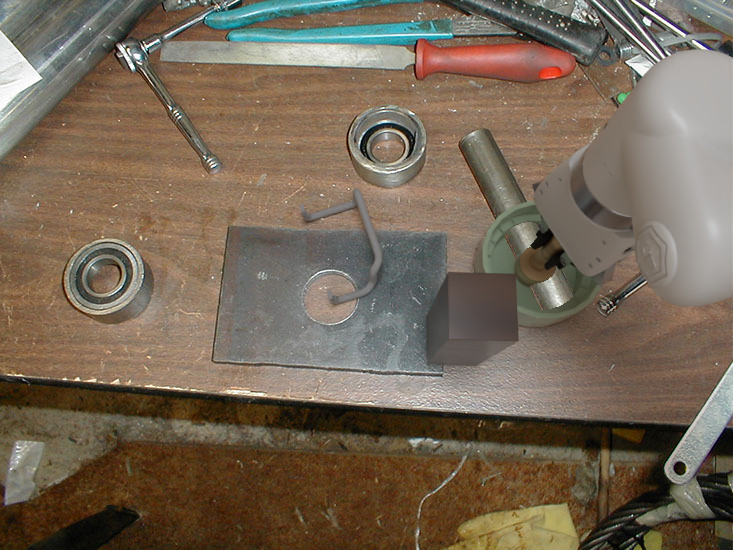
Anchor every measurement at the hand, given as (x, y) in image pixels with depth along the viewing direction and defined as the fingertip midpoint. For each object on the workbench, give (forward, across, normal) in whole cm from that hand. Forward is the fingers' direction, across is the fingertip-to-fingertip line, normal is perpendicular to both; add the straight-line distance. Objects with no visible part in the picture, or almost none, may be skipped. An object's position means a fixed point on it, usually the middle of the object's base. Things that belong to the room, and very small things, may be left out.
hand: (550, 251), depth 62 cm
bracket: (+8, +14, +20) cm, 25 cm away
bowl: (+8, 0, 0) cm, 8 cm away
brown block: (+8, -3, +13) cm, 16 cm away
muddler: (+8, 0, 0) cm, 8 cm away
